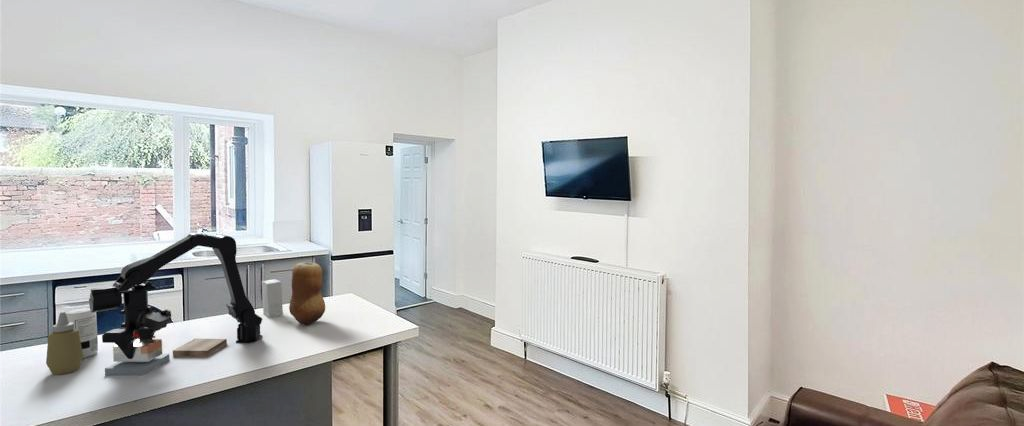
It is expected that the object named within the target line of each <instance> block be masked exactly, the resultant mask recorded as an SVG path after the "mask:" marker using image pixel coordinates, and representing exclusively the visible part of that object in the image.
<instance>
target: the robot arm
mask: <svg viewBox="0 0 1024 426" xmlns="http://www.w3.org/2000/svg"><path fill="white" fill-rule="evenodd" d="M197 247H204V248H210V249H212V251H213V253H214V254H215V256H216V257H217V258H218V260H219V261H220V264H221V267H222V271H223V274H224V278H225V280H226V281H225V282H226V285H227V289H228V292H229V295H230V303H227V304H226V307H227V310H228V315H229V316H231V317H232V318H233V319H235V320H236V322H237V323H238V324H237V328H236V341H235V343H237V344H238V343H241V344H245V343H248V344H249V343H251V344H252V343H256V342H257V341H259V340H260V339H262V338H263V335H262V334H261V324H262V322H263V318H262V317H261V316H259V315H258V314H257V313H256V311H255V309H254V306H253V305H252V303H251V302H250V299H248V297H247V296H246V292H245V289H244V286H243V282H242V278H241V275H240V271H239V268H238V264H237V260H236V258H237V257H236V256H237V252H238V251H237V241H236V240H235V237H232V236H229V235H226V234H216V235H208V234H201V233H197V232H191V233H189V234H188V235H187V236H185V237H183V238H182V239H180V240H178V241H176V242H175V243H173V244H171V245H169V246H167V247H166V248H163V250H161V251H159V252H157V253H155V254H153V255H152V256H149V257H146V258H142V259H140V260H137V261H134V262H132V263H129V264H127V265H125V266H123V268H122V269H121V271H120V276H118V278H117V279H116V281H115V282H114V283H112V286H109V287H100V288H98V287H97V288H91V289H90V294H89V298H88V305H89V306H88V307H90V310H91V313H93V312H96V313H97V312H106V311H111V310H117V309H118V307H120V306H121V305H122V304H123V309H122V310H120V311H119V313H120V315H123V317H124V322H122V323H120V328H113V329H111V330H109V331H106V332H104V334H102V335H101V338H102V339H101V340H102V341H101V342H102V343H105V344H107V343H108V344H110V343H113V344H115V345H117V346H118V347H119V348H120V349H121V350H122V352H123V353H124V354H125V356H126V357H127V358H128V359H132V358H133V347H134V341H135V340H136V339H154V338H153V336H155V333H156V332H157V331H160V330H162V329H164V328H167V326H168V323H169V322H170V321H172V312H171V310H169V309H163V310H162V311H157V312H155V311H154V308H153V306H149V297H148V296H149V295H148V293H149V292H148V291H150V290H156V288H157V287H156V285H155V286H154V285H153V284H152V283H150V282H149V279H151V278H152V277H153V276H155V274H157V272H158V271H159V270H160V269H161V268H163V267H164V266H166V265H167V264H169V263H171V262H172V261H175V260H176V259H178V258H180V257H181V256H183V255H185V254H186V253H188V252H189V251H192V250H193V249H195V248H197ZM122 296H123V297H122ZM124 327H125V328H126V329H124ZM136 331H138V334H139V338H138V337H134V332H136Z"/></svg>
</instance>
